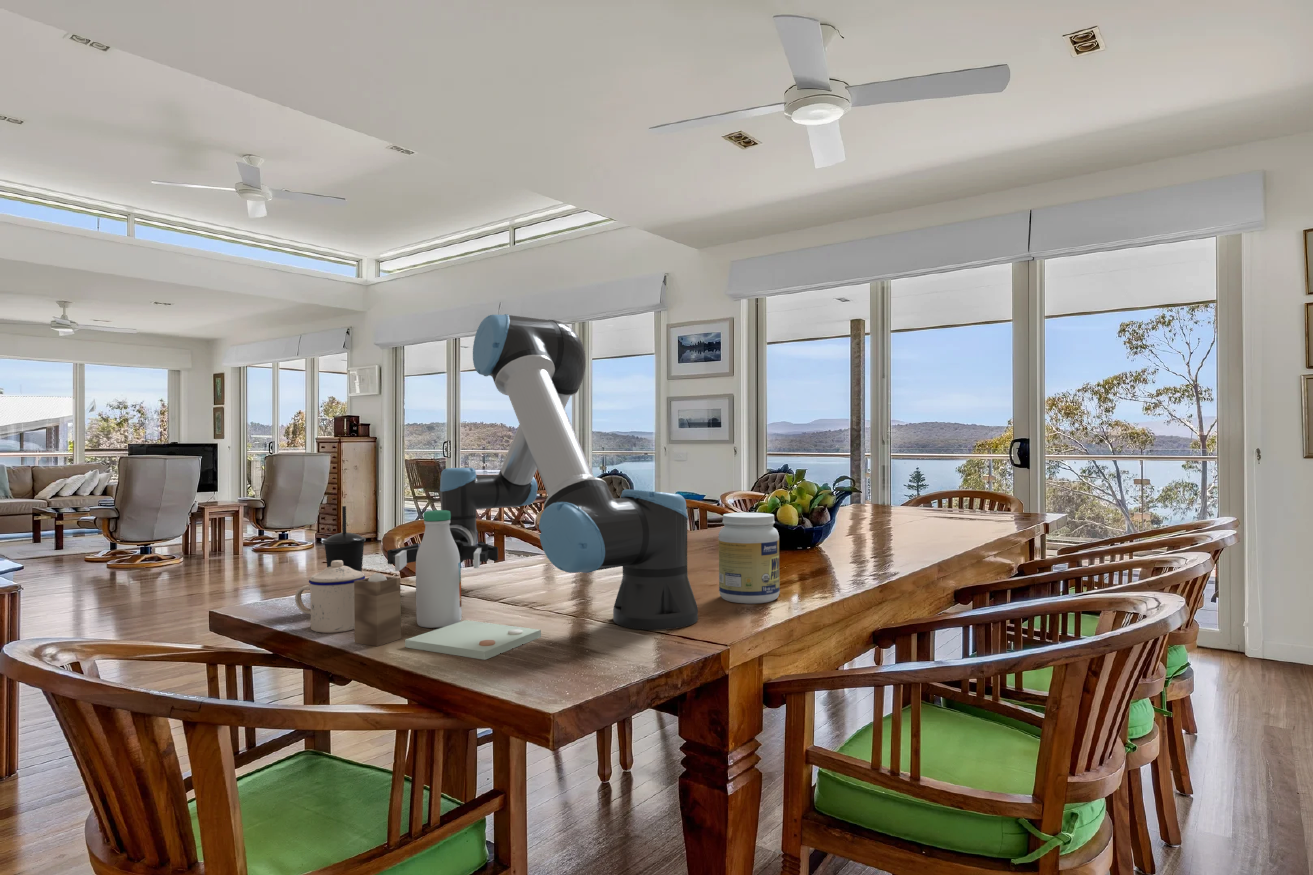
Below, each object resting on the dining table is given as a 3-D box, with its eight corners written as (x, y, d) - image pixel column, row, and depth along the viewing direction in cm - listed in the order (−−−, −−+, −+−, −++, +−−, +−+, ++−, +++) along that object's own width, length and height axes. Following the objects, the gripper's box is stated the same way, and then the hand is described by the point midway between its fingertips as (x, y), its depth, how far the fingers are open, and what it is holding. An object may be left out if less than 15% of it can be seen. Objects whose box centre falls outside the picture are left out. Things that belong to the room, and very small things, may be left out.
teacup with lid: (374, 620, 136) (373, 556, 136) (351, 633, 127) (350, 565, 127) (309, 620, 137) (308, 556, 137) (282, 633, 127) (281, 565, 128)
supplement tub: (771, 607, 143) (769, 518, 143) (710, 602, 148) (709, 516, 148) (786, 594, 155) (785, 512, 155) (729, 590, 159) (728, 510, 159)
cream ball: (391, 590, 123) (391, 572, 123) (376, 594, 120) (376, 575, 120) (378, 589, 124) (377, 571, 124) (363, 592, 122) (363, 574, 122)
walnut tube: (400, 638, 123) (400, 577, 123) (377, 646, 119) (376, 583, 119) (378, 635, 126) (378, 575, 126) (354, 642, 121) (354, 580, 121)
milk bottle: (457, 628, 130) (455, 512, 130) (412, 629, 129) (409, 513, 129) (465, 617, 138) (462, 508, 138) (421, 618, 137) (419, 509, 137)
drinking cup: (331, 605, 149) (330, 504, 149) (370, 604, 150) (369, 504, 150) (318, 614, 141) (316, 508, 141) (360, 613, 142) (358, 507, 142)
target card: (541, 637, 123) (540, 627, 123) (485, 659, 111) (485, 649, 111) (465, 626, 131) (465, 618, 131) (405, 647, 118) (405, 637, 118)
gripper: (514, 561, 156) (508, 580, 135) (390, 565, 153) (364, 585, 132) (513, 525, 156) (507, 538, 135) (389, 529, 153) (363, 543, 132)
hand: (436, 562), depth 134 cm, fingers open, 13 cm apart
